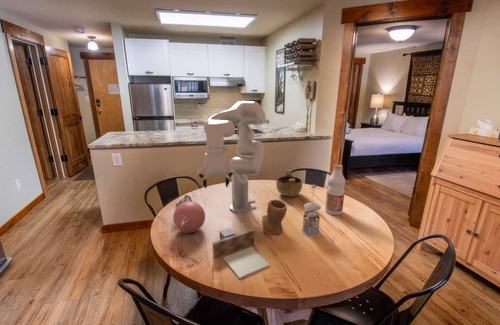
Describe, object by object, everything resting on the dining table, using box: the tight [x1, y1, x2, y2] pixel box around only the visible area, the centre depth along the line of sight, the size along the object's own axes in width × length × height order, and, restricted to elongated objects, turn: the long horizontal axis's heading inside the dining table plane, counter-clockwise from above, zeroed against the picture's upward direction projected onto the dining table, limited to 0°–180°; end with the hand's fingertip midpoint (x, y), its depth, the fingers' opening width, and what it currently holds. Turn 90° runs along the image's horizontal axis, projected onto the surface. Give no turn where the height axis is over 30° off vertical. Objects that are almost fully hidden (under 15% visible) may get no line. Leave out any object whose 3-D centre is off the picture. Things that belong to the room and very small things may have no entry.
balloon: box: [172, 200, 206, 234], centre depth 126 cm, size 15×20×15 cm
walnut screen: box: [212, 228, 256, 259], centre depth 114 cm, size 20×2×7 cm, turn 121°
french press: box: [300, 184, 322, 238], centre depth 125 cm, size 10×12×25 cm
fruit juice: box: [324, 163, 346, 216], centre depth 145 cm, size 9×9×28 cm
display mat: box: [222, 246, 271, 280], centre depth 106 cm, size 14×14×1 cm
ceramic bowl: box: [275, 169, 303, 198], centre depth 170 cm, size 22×17×15 cm
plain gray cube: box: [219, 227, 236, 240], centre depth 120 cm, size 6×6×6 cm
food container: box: [175, 194, 193, 208], centre depth 144 cm, size 12×6×10 cm, turn 168°
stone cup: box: [261, 199, 288, 235], centre depth 130 cm, size 15×12×15 cm
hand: (216, 186), depth 119 cm, fingers open, 9 cm apart
